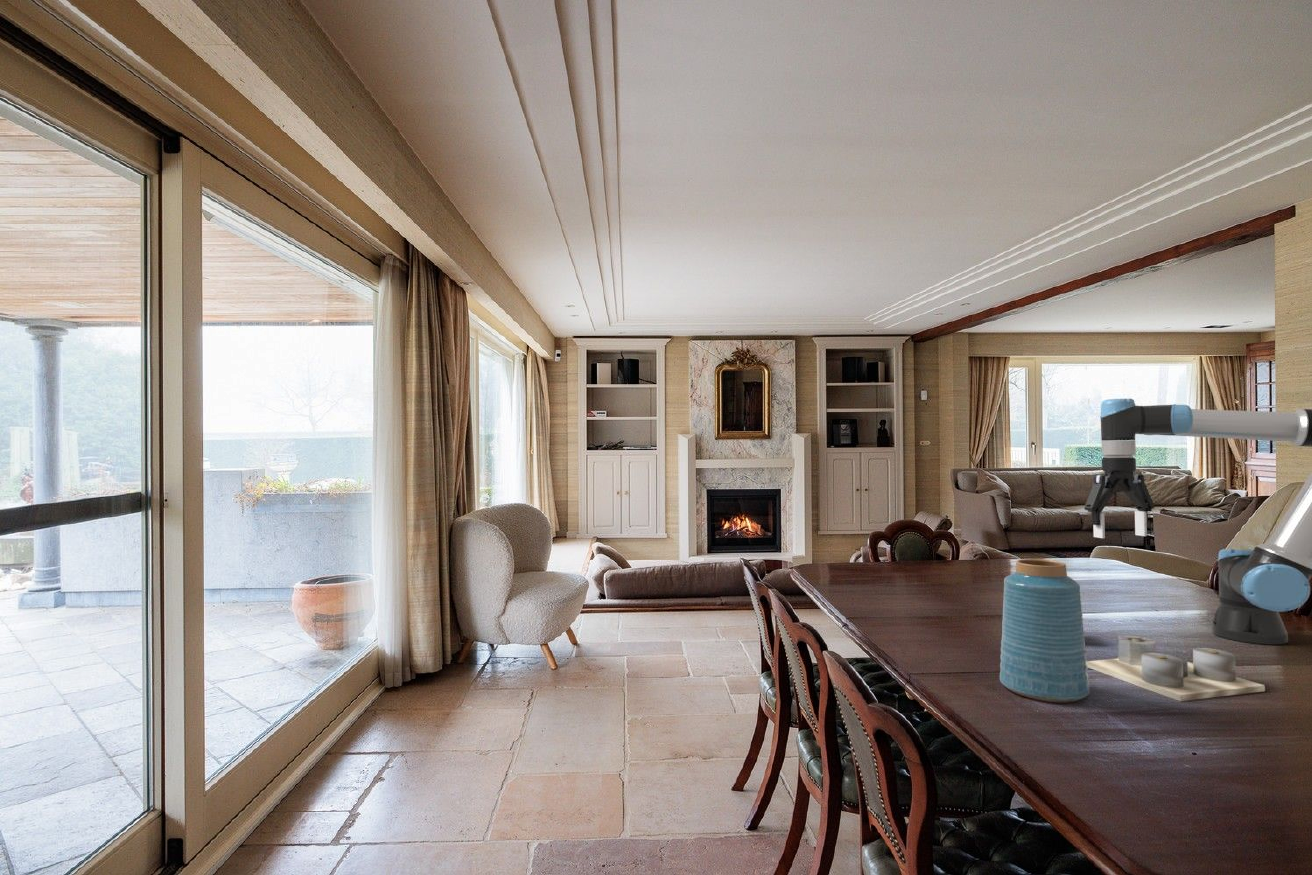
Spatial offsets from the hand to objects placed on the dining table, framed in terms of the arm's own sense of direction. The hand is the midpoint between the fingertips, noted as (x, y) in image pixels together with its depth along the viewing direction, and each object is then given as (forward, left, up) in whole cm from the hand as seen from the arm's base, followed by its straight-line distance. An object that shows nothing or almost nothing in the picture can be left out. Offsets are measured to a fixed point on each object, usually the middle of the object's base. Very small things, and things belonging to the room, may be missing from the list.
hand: (1120, 536), depth 179 cm
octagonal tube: (+18, +20, -26) cm, 37 cm away
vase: (+50, +27, -27) cm, 63 cm away
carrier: (+18, +28, -27) cm, 43 cm away
